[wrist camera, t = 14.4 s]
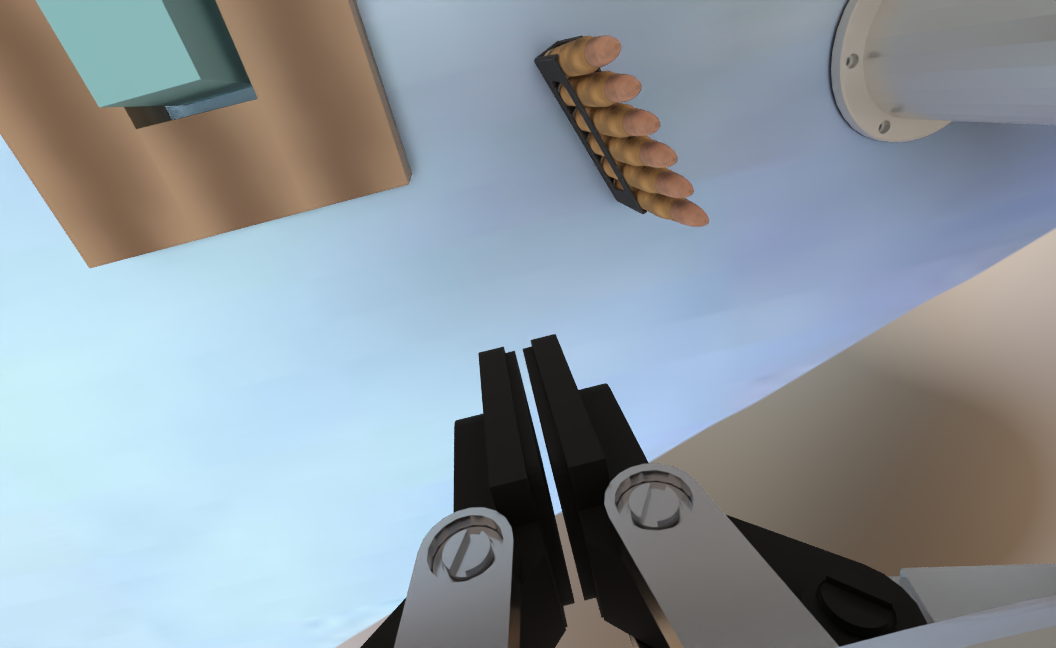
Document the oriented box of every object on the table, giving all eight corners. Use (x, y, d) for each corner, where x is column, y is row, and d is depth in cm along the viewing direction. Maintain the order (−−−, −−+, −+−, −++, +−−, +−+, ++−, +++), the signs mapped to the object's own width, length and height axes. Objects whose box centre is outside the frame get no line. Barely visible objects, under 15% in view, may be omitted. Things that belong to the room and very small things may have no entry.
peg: (221, -5, 26) (140, -43, 19) (260, 84, 28) (200, 79, 21) (139, 17, 26) (27, -13, 19) (185, 105, 28) (99, 107, 21)
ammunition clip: (639, 186, 35) (731, 226, 24) (617, 202, 35) (698, 249, 24) (558, 40, 30) (626, 7, 19) (533, 59, 30) (586, 38, 19)
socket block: (290, -201, 24) (263, -255, 20) (411, 174, 32) (408, 184, 28) (-94, -117, 23) (-194, -157, 19) (130, 248, 31) (89, 268, 27)
